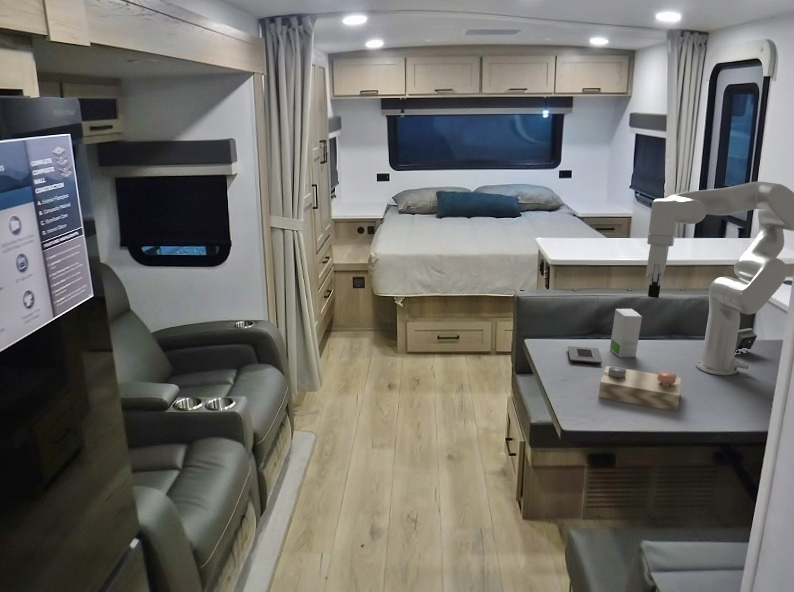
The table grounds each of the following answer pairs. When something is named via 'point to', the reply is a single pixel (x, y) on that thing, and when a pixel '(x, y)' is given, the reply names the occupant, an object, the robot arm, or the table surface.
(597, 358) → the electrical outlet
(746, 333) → the electrical switch
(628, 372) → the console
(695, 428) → the table surface
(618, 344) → the skincare box
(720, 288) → the robot arm
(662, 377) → the terracotta button
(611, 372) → the grey button
